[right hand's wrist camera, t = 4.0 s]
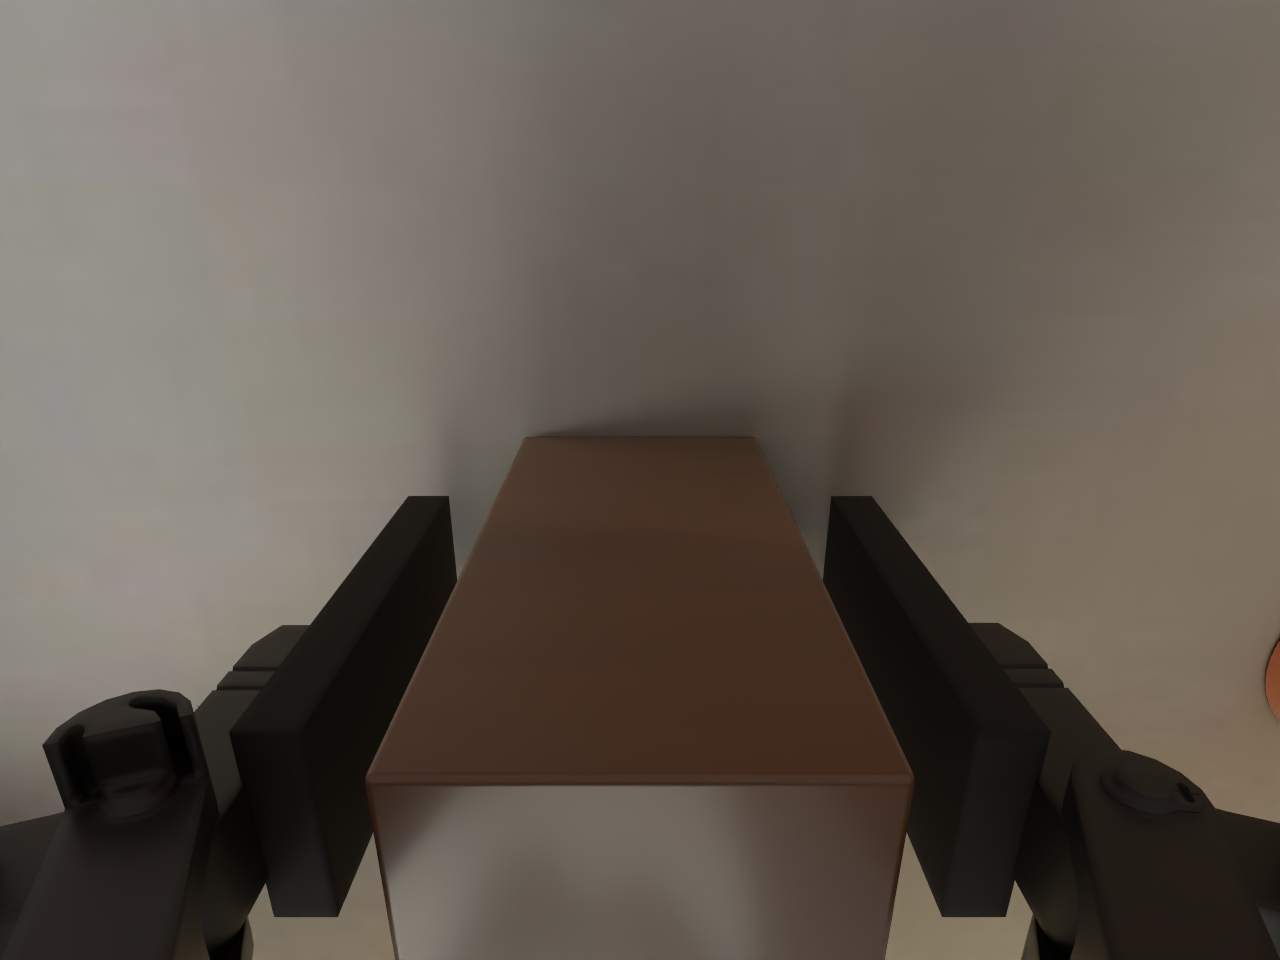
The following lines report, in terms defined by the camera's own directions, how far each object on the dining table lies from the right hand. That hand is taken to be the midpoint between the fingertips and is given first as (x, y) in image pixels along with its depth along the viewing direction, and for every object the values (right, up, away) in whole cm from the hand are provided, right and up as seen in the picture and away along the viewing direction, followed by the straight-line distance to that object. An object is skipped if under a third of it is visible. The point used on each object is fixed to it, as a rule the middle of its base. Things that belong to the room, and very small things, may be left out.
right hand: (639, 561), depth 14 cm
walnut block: (0, 0, +1) cm, 1 cm away
